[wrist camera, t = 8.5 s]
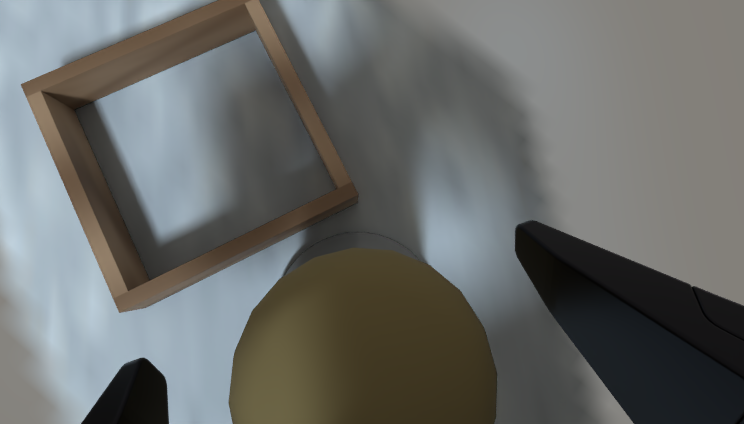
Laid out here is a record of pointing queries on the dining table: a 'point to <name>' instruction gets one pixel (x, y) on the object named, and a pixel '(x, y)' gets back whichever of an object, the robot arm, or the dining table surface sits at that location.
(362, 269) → the cork
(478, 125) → the dining table surface
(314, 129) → the frame
